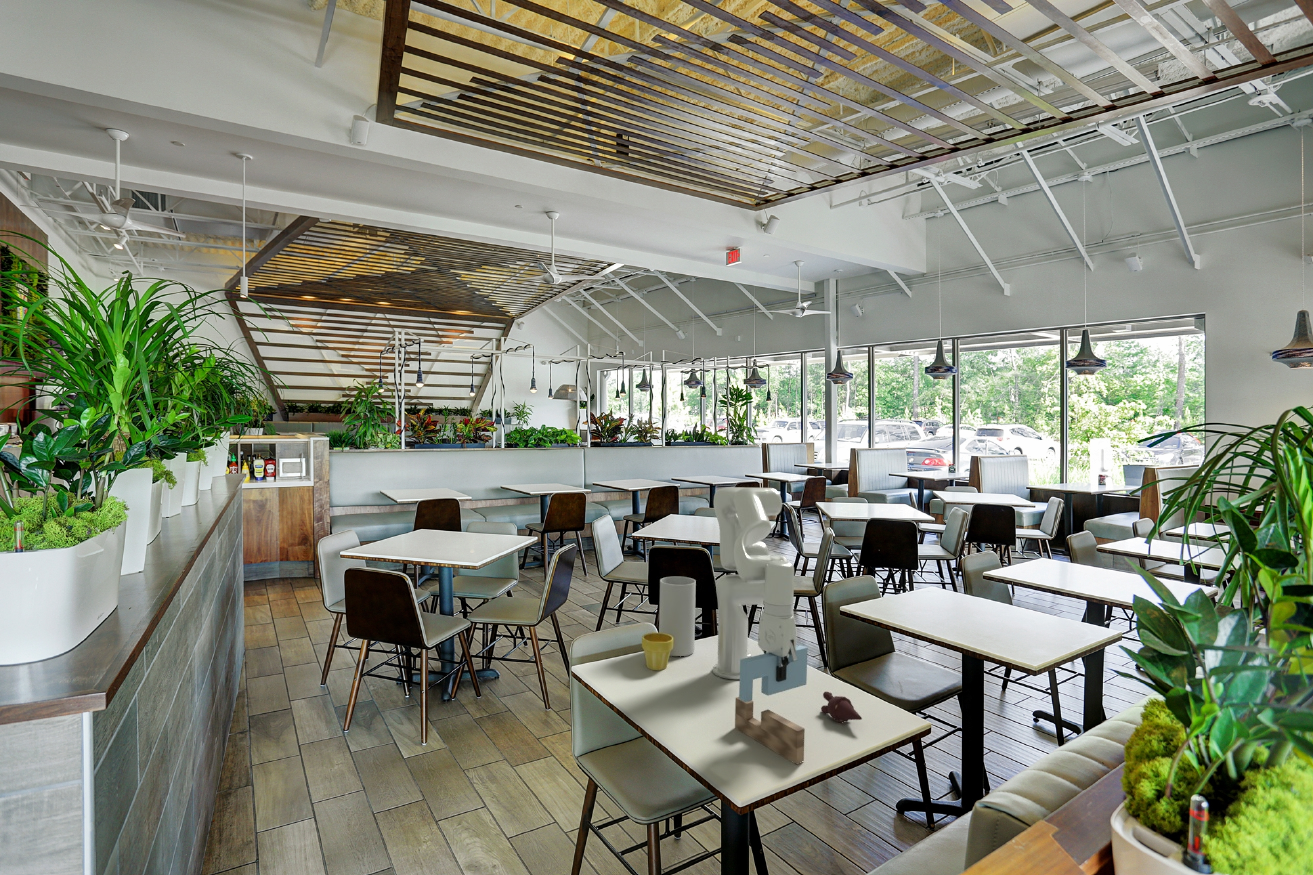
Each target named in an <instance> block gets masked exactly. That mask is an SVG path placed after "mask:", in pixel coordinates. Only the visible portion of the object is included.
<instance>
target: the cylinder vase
mask: <svg viewBox="0 0 1313 875" xmlns="http://www.w3.org/2000/svg"><path fill="white" fill-rule="evenodd" d="M696 581H697V580H696V579H694V578H691V577H687V576H666V577H663V578H660V579H659V617H658V621H659V624H658V625H659V626H658V629H659V630H658V633H665V634H669V635H671V636H672V637H673V648H672V650H671V651H670V655H669V657H672V656H680V657H679V658H681V656H684V657H688V656H690V655H692V654H693V653H694V652H695V639H696V638H695V635H696V633H695V632H696V631H695V630H696V629H695V628H696V591H697V590H696V586H697V584H696Z"/></svg>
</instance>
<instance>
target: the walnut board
mask: <svg viewBox="0 0 1313 875" xmlns="http://www.w3.org/2000/svg"><path fill="white" fill-rule="evenodd" d="M734 707H735V708H734V728H735V729H736V730H737V731H739V732H741V733H743V734H744V735H747V737H750V738H751V739H753V740H755V741H756V742H758V743H760V744H761V745H763V746H764V747H766V748H768V749H770V750H772V751H773V752H775V753H776V754H778V755H780V756H781V755H782V756H781V757H783V758H784V759H786V760H788V759H789V760H788V761H790V760H791V761H793V762H794V763H793V762H792V763H793V764H795V763H796V764H797V763H800V762H802V761H804V762H805V760H804V759H805V728H804V727H802V726H800V725H799V724H797V723H795V722H793V721H791V720H789V719H787V718H785V717H783V716H781V715H780V714H778V713H776V712H774V711H771V710H770V709H765V710H763V711H761V712H760V720H759V719H757V718H755V717H754V701H753V700H751V701H748V702H744V701H742V700H741V699H739V696H737V697H735V706H734ZM791 761H790V762H791ZM802 763H803V762H802ZM796 764H795V765H796ZM800 764H801V763H800ZM797 765H798V764H797Z"/></svg>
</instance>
